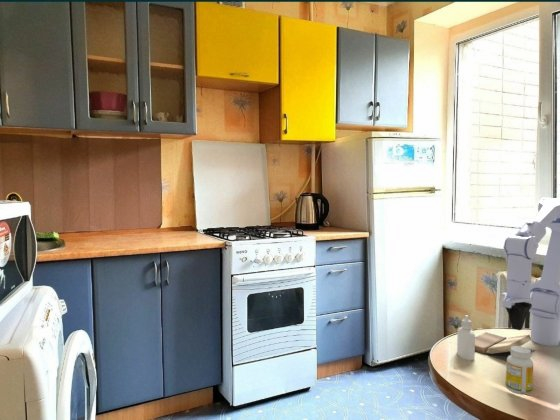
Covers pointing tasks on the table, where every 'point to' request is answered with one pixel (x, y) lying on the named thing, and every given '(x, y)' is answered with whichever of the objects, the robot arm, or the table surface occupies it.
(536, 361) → the table surface
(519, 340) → the board
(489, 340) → the floor section
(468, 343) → the eye dropper bottle
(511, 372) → the supplement bottle
